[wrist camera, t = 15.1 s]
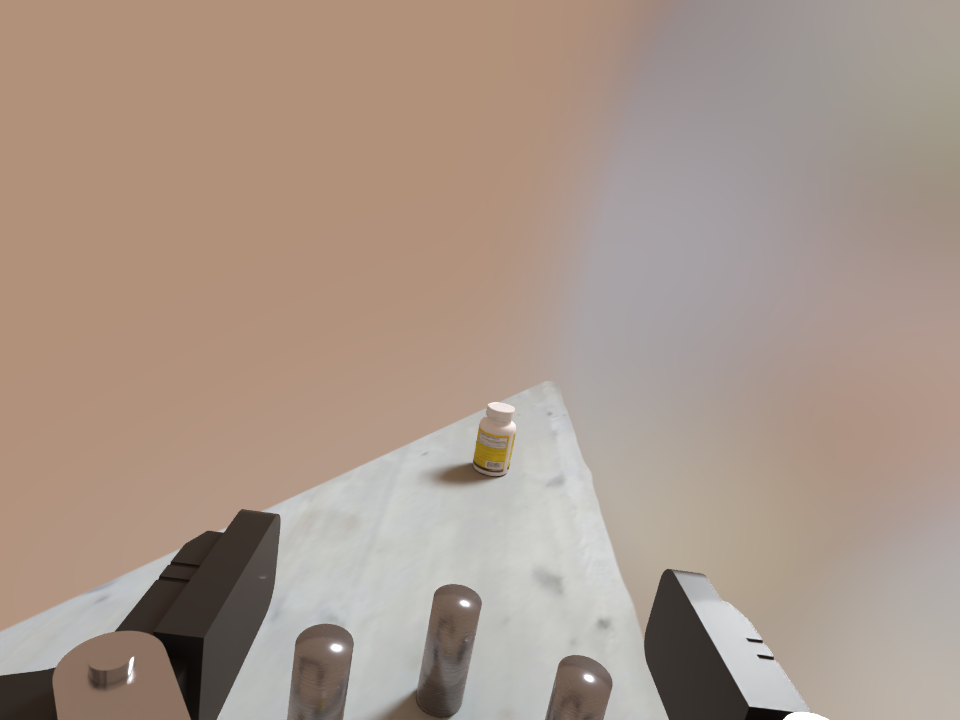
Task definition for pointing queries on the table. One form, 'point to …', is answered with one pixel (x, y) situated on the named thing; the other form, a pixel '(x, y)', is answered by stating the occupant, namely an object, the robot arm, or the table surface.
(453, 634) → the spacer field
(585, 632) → the table surface
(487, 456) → the supplement bottle
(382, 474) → the table surface
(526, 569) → the table surface
